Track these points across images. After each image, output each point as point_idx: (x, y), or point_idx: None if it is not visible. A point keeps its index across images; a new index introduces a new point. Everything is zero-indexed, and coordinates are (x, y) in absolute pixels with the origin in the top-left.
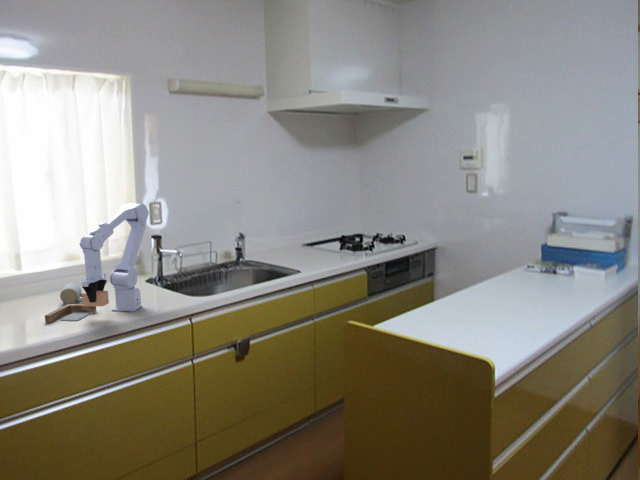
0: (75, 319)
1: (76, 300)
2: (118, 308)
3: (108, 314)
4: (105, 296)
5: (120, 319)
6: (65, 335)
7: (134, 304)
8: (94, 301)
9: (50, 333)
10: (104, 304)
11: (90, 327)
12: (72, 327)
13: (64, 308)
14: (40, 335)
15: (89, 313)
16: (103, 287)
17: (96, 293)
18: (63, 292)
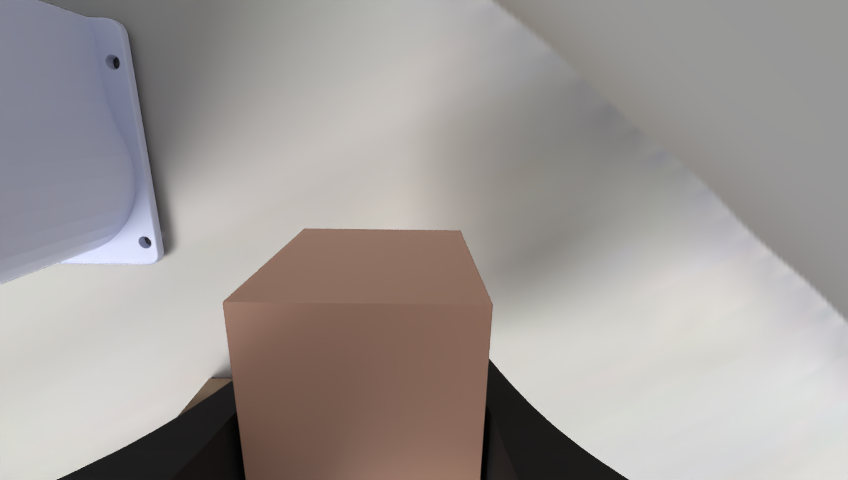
0: None
1: None
2: (126, 206)
3: (266, 244)
4: (369, 268)
5: (402, 55)
6: (807, 320)
7: (35, 3)
8: (490, 362)
9: (741, 435)
10: (424, 234)
11: (632, 227)
12: (620, 361)
13: None
14: (773, 471)
15: None
16: (154, 456)
17: (469, 426)
18: None
